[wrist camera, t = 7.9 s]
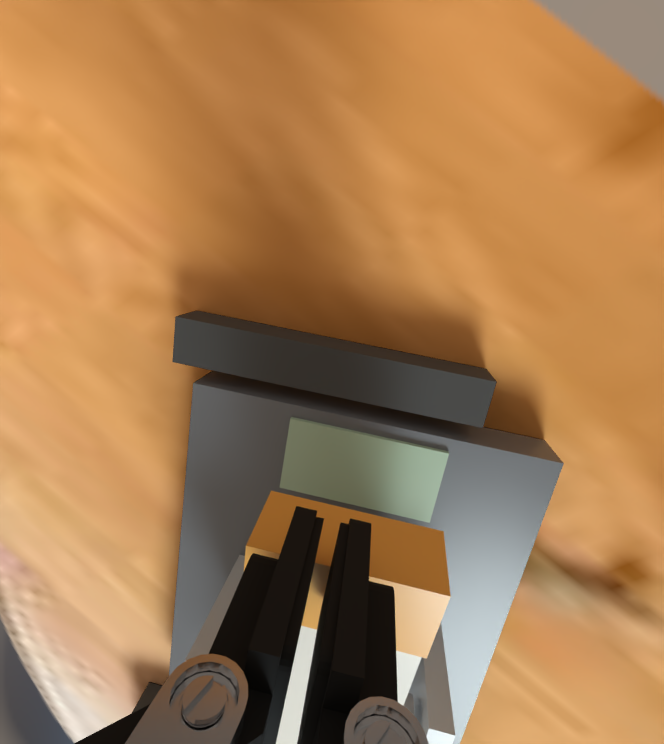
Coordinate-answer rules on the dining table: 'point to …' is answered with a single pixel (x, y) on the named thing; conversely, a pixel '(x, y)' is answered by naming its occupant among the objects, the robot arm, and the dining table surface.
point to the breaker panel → (365, 494)
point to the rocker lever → (387, 566)
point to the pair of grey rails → (331, 373)
